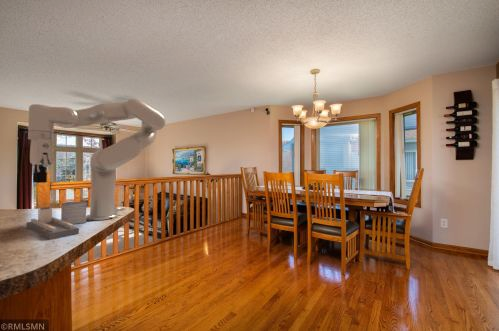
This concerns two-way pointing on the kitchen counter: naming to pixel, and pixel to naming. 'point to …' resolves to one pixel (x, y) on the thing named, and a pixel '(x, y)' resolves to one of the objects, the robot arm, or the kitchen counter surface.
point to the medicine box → (74, 212)
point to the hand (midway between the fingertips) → (39, 181)
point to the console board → (52, 228)
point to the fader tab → (45, 214)
